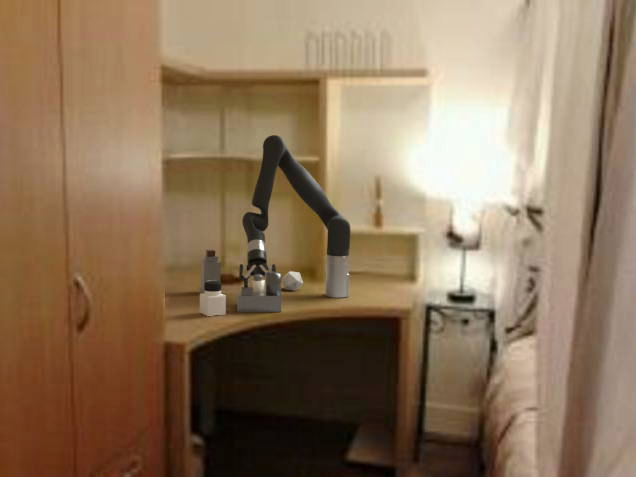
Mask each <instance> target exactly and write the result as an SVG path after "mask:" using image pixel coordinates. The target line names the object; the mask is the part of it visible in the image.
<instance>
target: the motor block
mask: <svg viewBox="0 0 636 477" xmlns="http://www.w3.org/2000/svg"><path fill="white" fill-rule="evenodd" d="M236 294H237V295H236V296H237V297H236V299H237V300H236V303H237V304H236V310H237V311H236V312H237V313H282V298H283V297H282V272H279V271H276V272H271V271H268V272H267V273H266V278H265V293H253V288H252V287H251V286H248V287H244V286H243V287H241V292H237V293H236Z"/></svg>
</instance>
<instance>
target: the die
mask: <svg viewBox="0 0 636 477" xmlns="http://www.w3.org/2000/svg"><path fill="white" fill-rule="evenodd" d="M281 282H282V283H283V286H284V289H285V290H286V291H291V290H292V292H296V291H297V290H299V289H300V288H301V286H303V285H304V281H303V278H302V276H301V273H300V272H299V271H298V272H297V271H291V270H289V271H288V272H287V273H286V274H285V275H284V276H283V277H281Z"/></svg>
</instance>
